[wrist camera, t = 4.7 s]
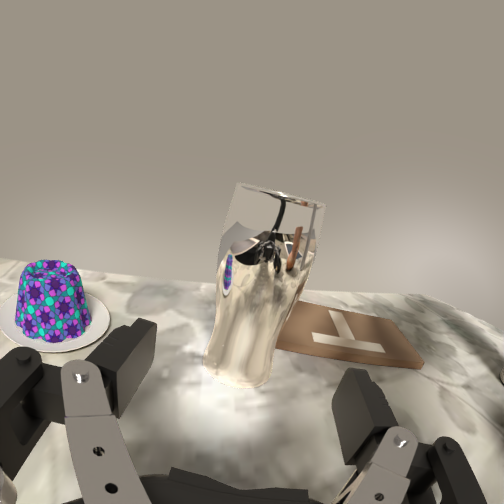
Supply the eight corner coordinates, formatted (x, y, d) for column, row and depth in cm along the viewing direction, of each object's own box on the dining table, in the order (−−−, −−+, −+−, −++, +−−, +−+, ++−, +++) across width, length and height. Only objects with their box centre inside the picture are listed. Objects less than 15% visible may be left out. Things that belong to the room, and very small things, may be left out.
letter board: (389, 325, 40) (391, 319, 40) (420, 369, 28) (424, 362, 28) (263, 299, 40) (265, 292, 40) (260, 345, 28) (263, 336, 28)
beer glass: (198, 339, 27) (231, 180, 23) (268, 349, 28) (311, 199, 24) (195, 387, 20) (237, 184, 16) (282, 396, 21) (345, 211, 18)
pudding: (35, 283, 27) (35, 240, 25) (123, 307, 29) (127, 262, 28) (-23, 331, 15) (-33, 277, 14) (84, 376, 17) (79, 318, 16)
